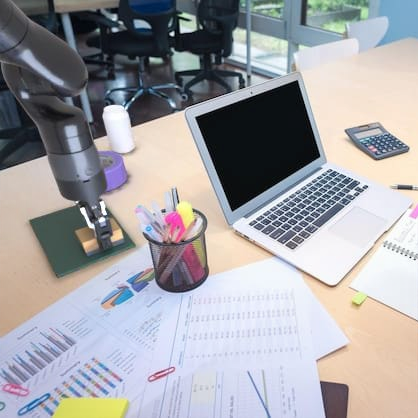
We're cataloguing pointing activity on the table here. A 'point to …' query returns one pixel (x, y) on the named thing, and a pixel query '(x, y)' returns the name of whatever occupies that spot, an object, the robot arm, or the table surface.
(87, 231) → the eraser
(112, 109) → the beverage can
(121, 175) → the tape roll
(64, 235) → the chalkboard
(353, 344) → the table surface
